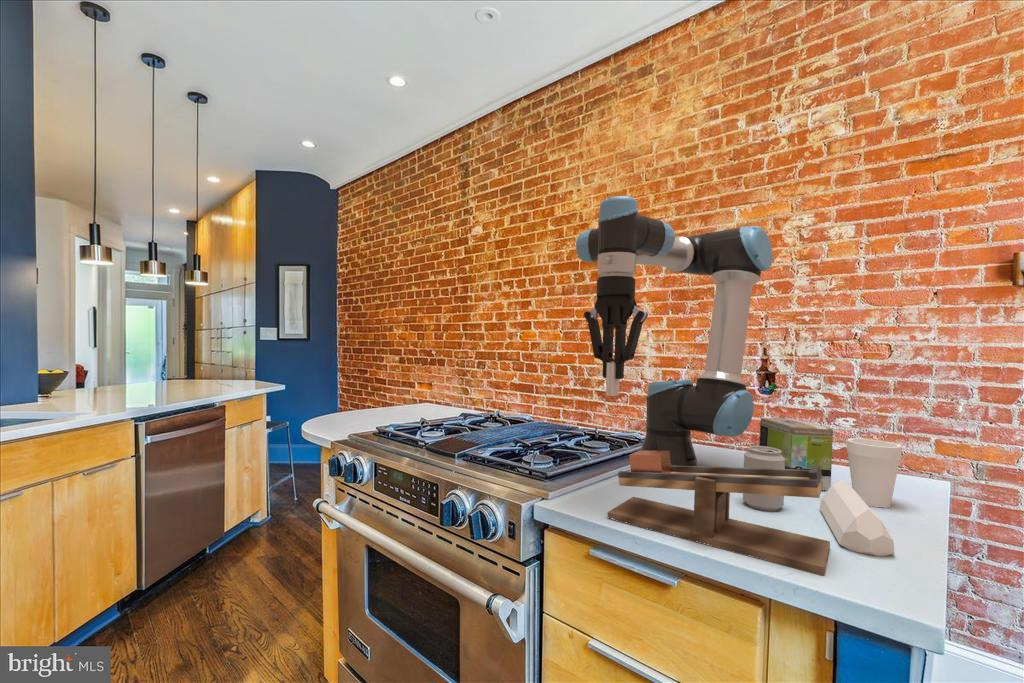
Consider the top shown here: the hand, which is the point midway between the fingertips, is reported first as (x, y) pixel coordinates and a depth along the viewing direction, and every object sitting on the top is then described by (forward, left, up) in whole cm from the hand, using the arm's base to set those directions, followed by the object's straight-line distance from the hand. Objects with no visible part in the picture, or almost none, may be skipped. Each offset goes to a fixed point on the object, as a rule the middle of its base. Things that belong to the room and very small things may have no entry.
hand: (612, 395), depth 96 cm
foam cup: (-14, +57, -23) cm, 63 cm away
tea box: (-28, +47, -23) cm, 59 cm away
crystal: (+4, +43, -23) cm, 49 cm away
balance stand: (+10, +17, -22) cm, 30 cm away
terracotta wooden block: (+4, +7, -14) cm, 17 cm away
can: (-7, +32, -23) cm, 40 cm away
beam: (+10, +17, -13) cm, 24 cm away
